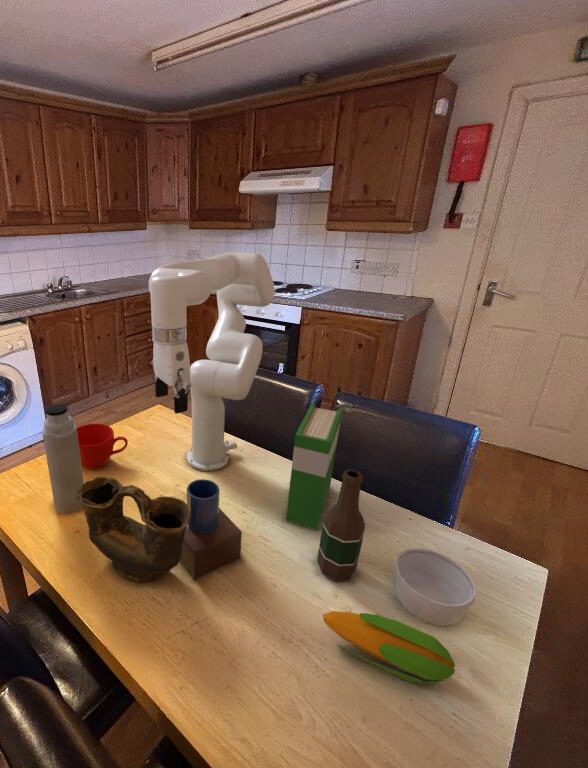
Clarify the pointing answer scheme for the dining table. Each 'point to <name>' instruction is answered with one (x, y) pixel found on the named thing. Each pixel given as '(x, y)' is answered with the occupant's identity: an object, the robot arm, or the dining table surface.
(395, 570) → the ramekin
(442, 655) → the corn
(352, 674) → the dining table surface
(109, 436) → the ceramic cup
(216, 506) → the cup
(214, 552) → the box
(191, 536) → the box lid
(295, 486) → the hardback book
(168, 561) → the pottery vessel
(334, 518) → the beer bottle
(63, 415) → the thermos bottle
